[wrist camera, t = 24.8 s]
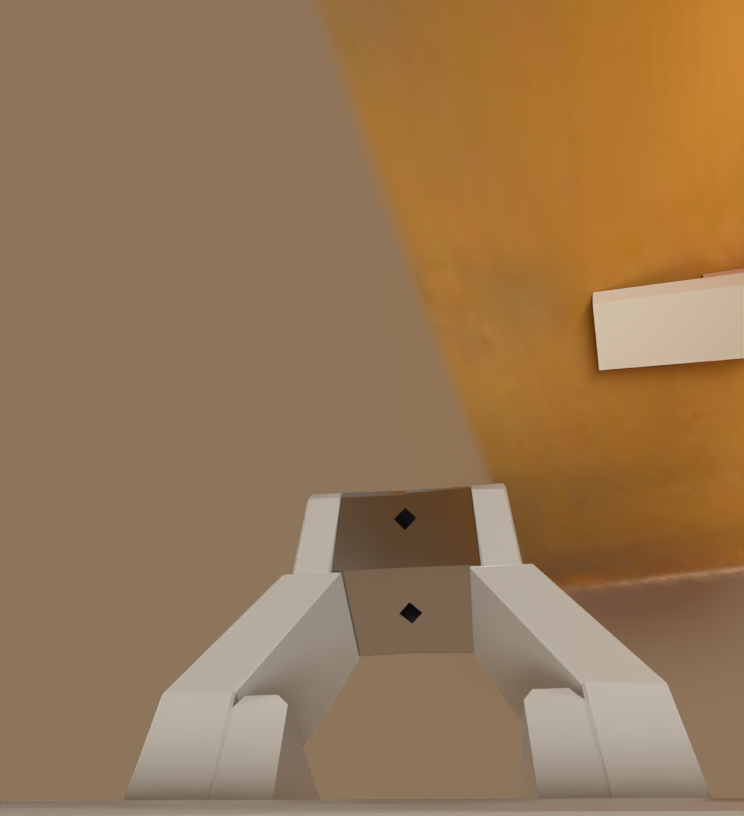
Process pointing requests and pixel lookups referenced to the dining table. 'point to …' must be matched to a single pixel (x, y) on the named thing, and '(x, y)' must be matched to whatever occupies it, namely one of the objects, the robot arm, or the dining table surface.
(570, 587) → the dining table surface
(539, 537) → the dining table surface
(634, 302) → the domino end
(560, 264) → the dining table surface
